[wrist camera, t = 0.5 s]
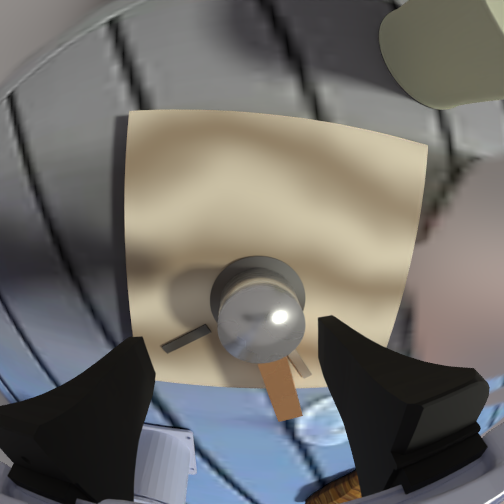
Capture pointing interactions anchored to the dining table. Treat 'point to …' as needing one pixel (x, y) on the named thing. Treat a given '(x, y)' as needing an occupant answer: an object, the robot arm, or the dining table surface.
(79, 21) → the dining table surface
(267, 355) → the wooden handled dome
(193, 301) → the base plate
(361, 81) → the dining table surface
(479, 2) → the can
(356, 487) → the croissant
